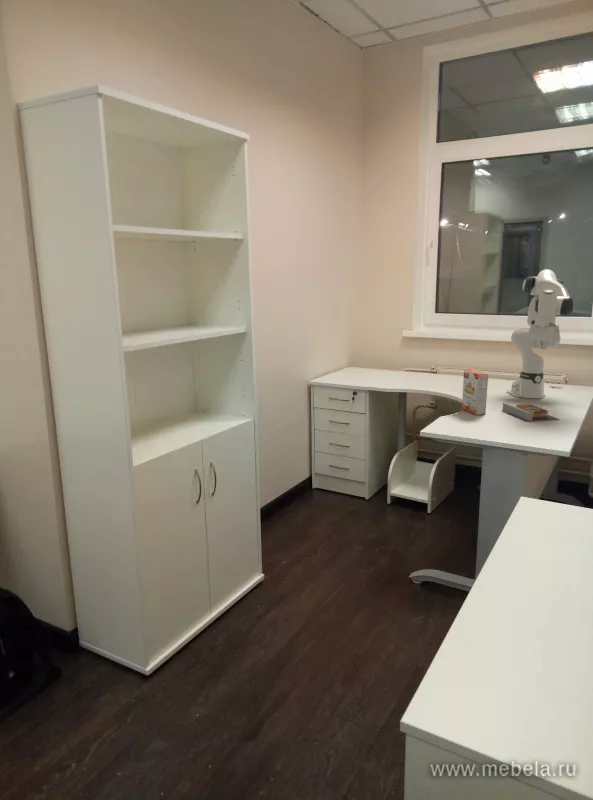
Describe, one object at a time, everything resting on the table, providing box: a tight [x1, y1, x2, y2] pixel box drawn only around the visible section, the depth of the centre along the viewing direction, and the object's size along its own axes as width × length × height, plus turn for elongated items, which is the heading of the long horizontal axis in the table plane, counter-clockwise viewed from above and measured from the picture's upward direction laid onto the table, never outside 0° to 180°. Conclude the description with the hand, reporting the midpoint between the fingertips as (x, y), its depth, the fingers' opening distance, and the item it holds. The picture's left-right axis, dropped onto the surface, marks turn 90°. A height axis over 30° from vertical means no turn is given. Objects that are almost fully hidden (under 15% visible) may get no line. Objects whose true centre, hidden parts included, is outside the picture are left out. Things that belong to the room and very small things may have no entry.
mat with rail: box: [502, 402, 560, 422], centre depth 285 cm, size 23×18×4 cm
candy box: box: [515, 403, 549, 419], centre depth 283 cm, size 9×4×15 cm
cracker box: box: [461, 369, 489, 416], centre depth 289 cm, size 14×6×21 cm, turn 13°
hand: (543, 349), depth 294 cm, fingers closed
